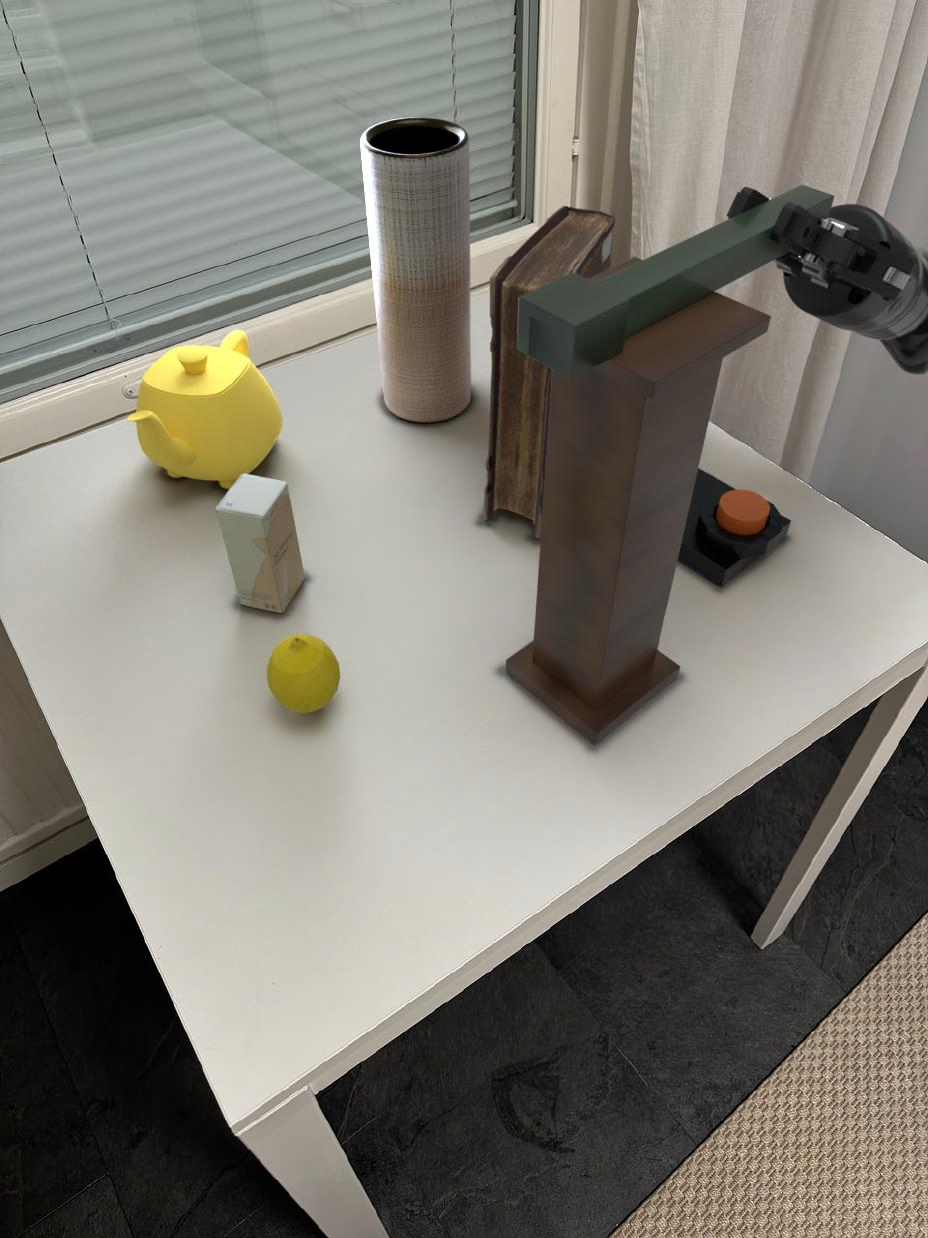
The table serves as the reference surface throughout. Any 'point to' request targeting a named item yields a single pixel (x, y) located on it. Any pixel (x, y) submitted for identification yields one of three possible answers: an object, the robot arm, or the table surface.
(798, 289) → the robot arm
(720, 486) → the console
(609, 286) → the rod
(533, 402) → the book
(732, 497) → the button
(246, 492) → the box
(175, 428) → the teapot
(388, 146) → the vase
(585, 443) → the pedestal
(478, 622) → the table surface
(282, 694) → the fruit
